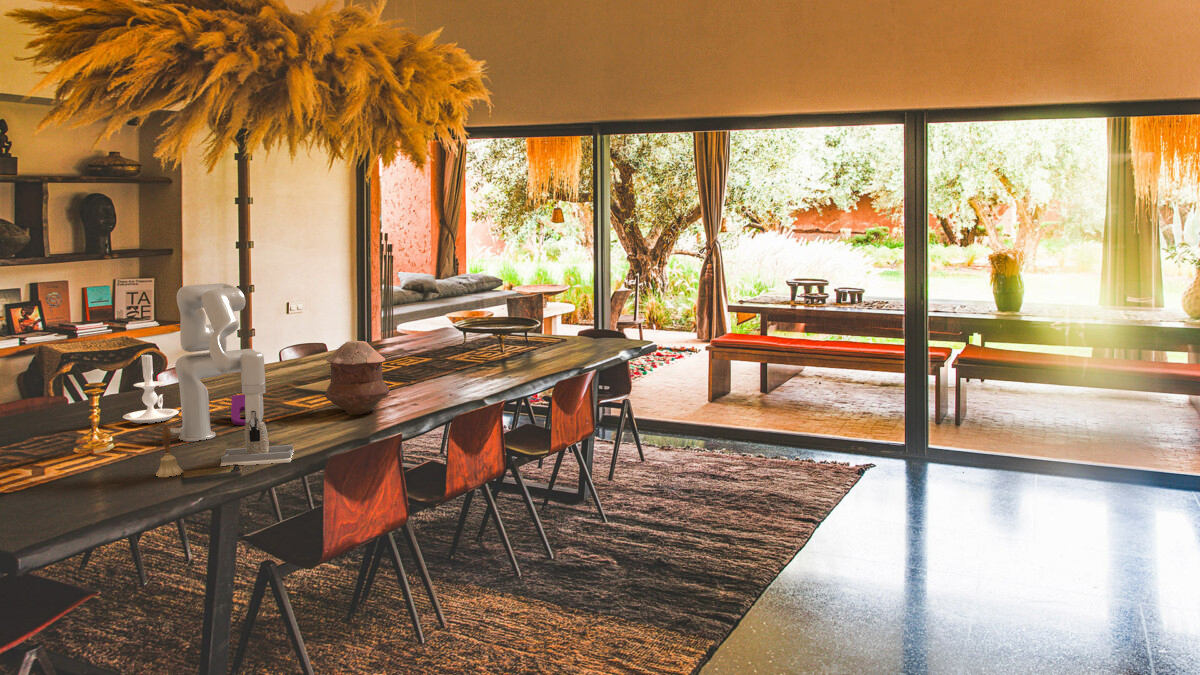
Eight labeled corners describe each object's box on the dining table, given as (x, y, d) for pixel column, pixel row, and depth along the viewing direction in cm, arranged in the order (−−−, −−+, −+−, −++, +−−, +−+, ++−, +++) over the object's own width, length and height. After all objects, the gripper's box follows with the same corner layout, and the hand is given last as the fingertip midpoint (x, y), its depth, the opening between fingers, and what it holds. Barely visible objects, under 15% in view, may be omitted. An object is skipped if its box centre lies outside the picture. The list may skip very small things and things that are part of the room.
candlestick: (189, 413, 394) (184, 347, 390) (170, 426, 370) (165, 356, 366) (137, 415, 391) (132, 349, 388) (115, 428, 367) (109, 358, 363)
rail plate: (220, 467, 309) (220, 458, 309) (227, 456, 323) (226, 448, 323) (290, 462, 314) (289, 453, 314) (293, 451, 328) (293, 443, 328)
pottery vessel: (315, 417, 382) (311, 345, 378) (342, 405, 407) (339, 336, 403) (375, 419, 378) (371, 346, 374) (398, 406, 403) (396, 337, 399)
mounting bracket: (257, 437, 375) (257, 410, 389) (256, 420, 371) (256, 394, 385) (232, 439, 372) (233, 412, 386) (230, 422, 368) (231, 395, 382)
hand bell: (149, 476, 300) (145, 427, 298) (169, 469, 307) (166, 422, 305) (169, 478, 297) (165, 429, 295) (189, 471, 304) (185, 423, 302)
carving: (245, 455, 320) (243, 421, 318) (268, 453, 323) (266, 419, 321) (246, 460, 314) (244, 425, 312) (270, 457, 317) (268, 422, 316)
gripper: (245, 384, 323) (248, 432, 325) (238, 394, 306) (241, 444, 309) (268, 383, 325) (271, 431, 327) (262, 392, 308) (265, 443, 310)
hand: (256, 438), depth 318 cm, fingers open, 9 cm apart
